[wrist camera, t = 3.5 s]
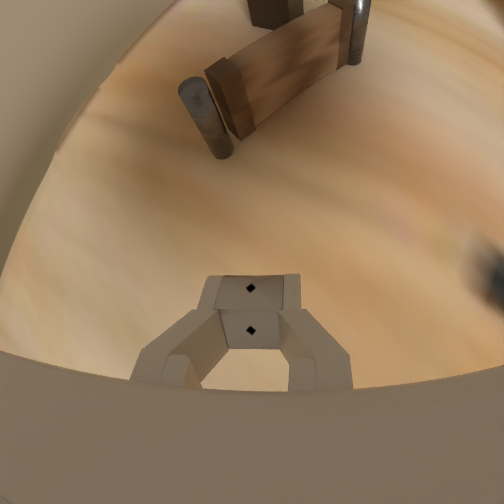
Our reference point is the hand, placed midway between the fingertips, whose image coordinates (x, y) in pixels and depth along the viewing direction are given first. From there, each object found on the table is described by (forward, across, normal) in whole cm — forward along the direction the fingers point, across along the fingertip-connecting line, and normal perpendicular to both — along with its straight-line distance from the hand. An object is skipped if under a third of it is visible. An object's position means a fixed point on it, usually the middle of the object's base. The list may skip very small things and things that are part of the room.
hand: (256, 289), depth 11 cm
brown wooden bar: (+24, -2, -3) cm, 24 cm away
